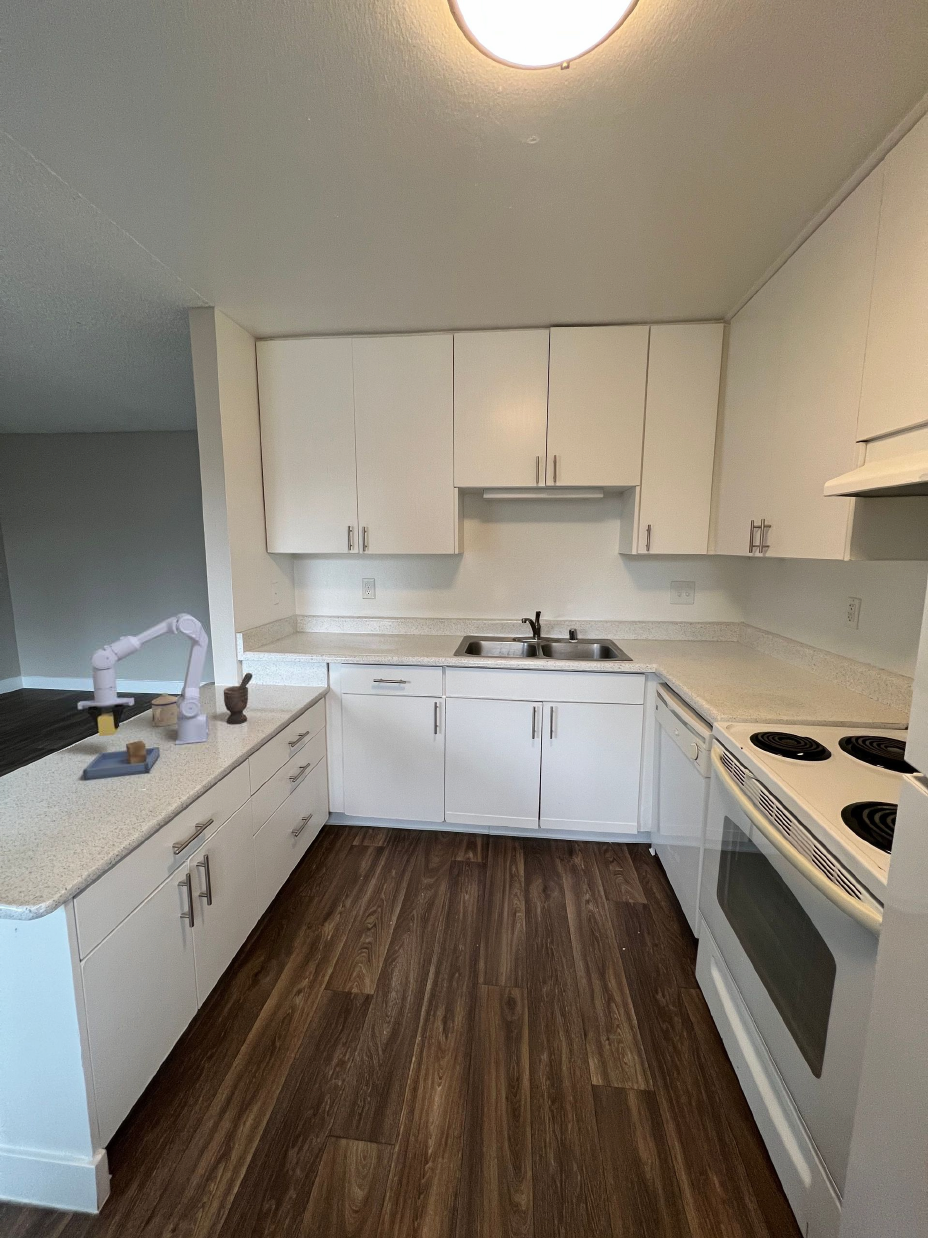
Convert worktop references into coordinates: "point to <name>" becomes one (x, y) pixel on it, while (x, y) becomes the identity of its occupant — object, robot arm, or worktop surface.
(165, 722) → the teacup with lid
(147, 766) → the slate blue tray
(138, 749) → the walnut block
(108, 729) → the mustard block
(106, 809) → the worktop surface
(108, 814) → the worktop surface
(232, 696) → the mortar and pestle
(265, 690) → the worktop surface
